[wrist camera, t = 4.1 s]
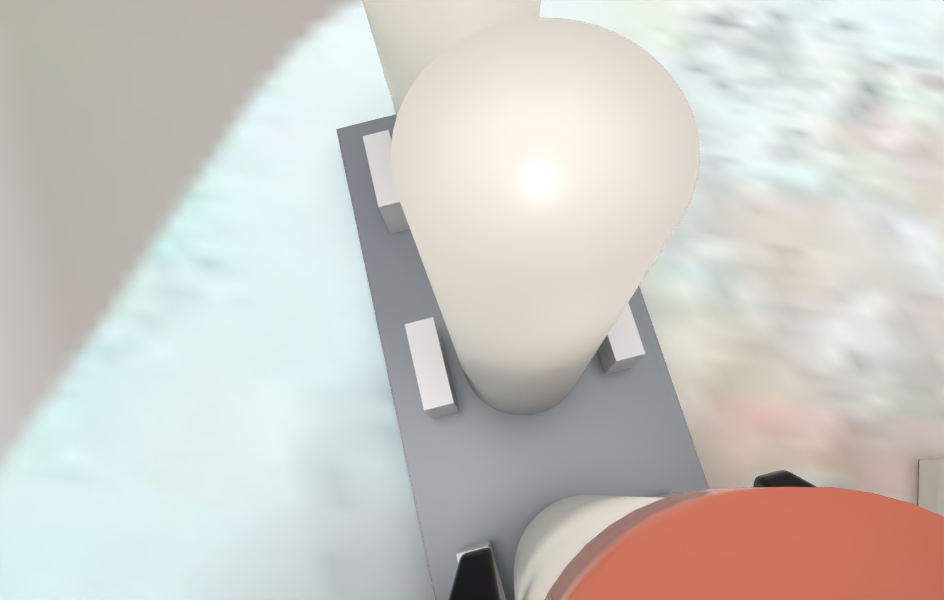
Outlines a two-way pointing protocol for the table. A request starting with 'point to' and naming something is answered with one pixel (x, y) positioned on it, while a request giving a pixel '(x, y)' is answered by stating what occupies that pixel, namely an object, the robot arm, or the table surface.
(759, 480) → the robot arm
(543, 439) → the fuse panel
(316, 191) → the table surface
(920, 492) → the tray
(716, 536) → the white cylinder orange top
